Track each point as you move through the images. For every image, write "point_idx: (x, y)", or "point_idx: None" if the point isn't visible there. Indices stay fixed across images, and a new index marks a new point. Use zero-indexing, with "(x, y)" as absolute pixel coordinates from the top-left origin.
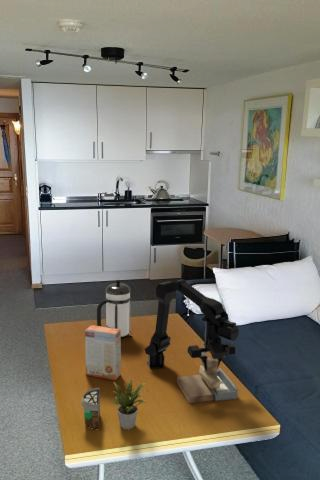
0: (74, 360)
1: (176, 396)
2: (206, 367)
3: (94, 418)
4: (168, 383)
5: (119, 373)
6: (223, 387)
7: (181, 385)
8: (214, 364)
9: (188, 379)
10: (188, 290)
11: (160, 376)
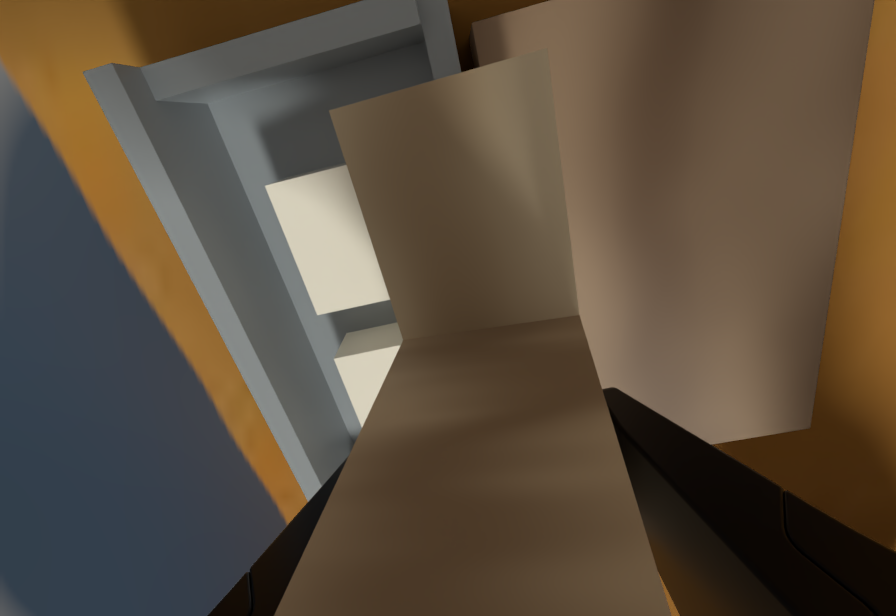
0: None
1: (892, 124)
2: (632, 429)
3: None
4: (853, 376)
5: None
6: (322, 223)
7: (818, 281)
8: (428, 498)
9: (706, 385)
10: None
11: (871, 476)
